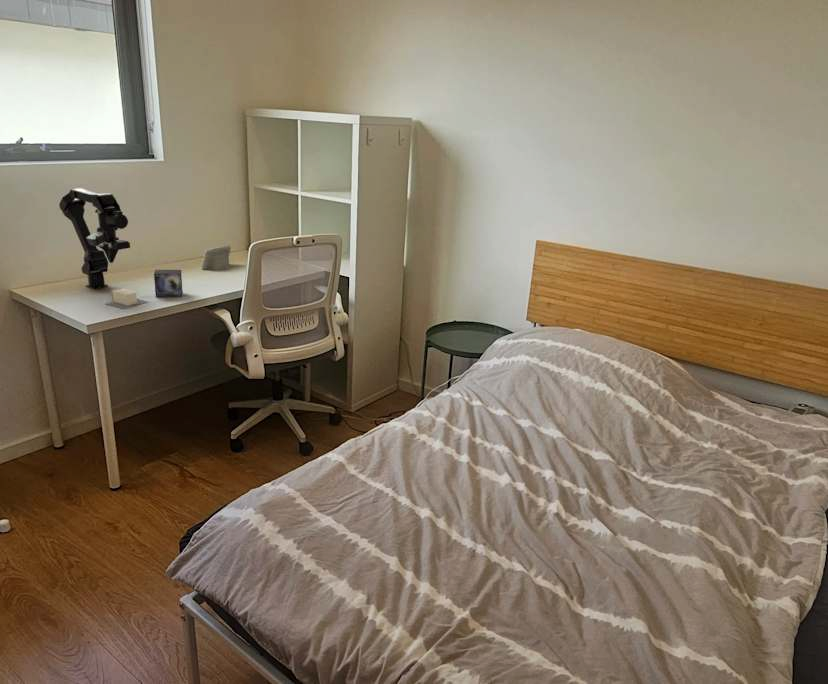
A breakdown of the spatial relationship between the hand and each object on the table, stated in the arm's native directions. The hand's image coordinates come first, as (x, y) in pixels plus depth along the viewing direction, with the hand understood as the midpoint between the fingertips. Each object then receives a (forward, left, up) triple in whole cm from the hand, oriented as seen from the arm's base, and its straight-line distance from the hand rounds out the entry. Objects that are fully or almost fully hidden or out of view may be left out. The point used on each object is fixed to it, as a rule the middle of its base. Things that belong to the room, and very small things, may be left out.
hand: (111, 262), depth 252 cm
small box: (+19, +12, -13) cm, 26 cm away
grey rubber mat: (+15, -6, -13) cm, 21 cm away
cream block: (+10, -6, -11) cm, 16 cm away
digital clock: (0, +58, -13) cm, 60 cm away
